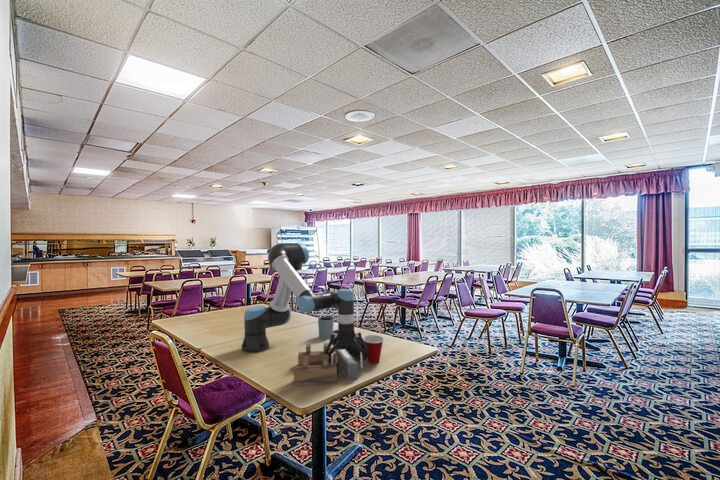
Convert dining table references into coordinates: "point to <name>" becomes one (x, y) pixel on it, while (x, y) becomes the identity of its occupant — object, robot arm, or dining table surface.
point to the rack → (315, 367)
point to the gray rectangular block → (347, 364)
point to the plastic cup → (373, 347)
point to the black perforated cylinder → (348, 345)
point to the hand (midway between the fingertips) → (347, 368)
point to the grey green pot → (325, 327)
